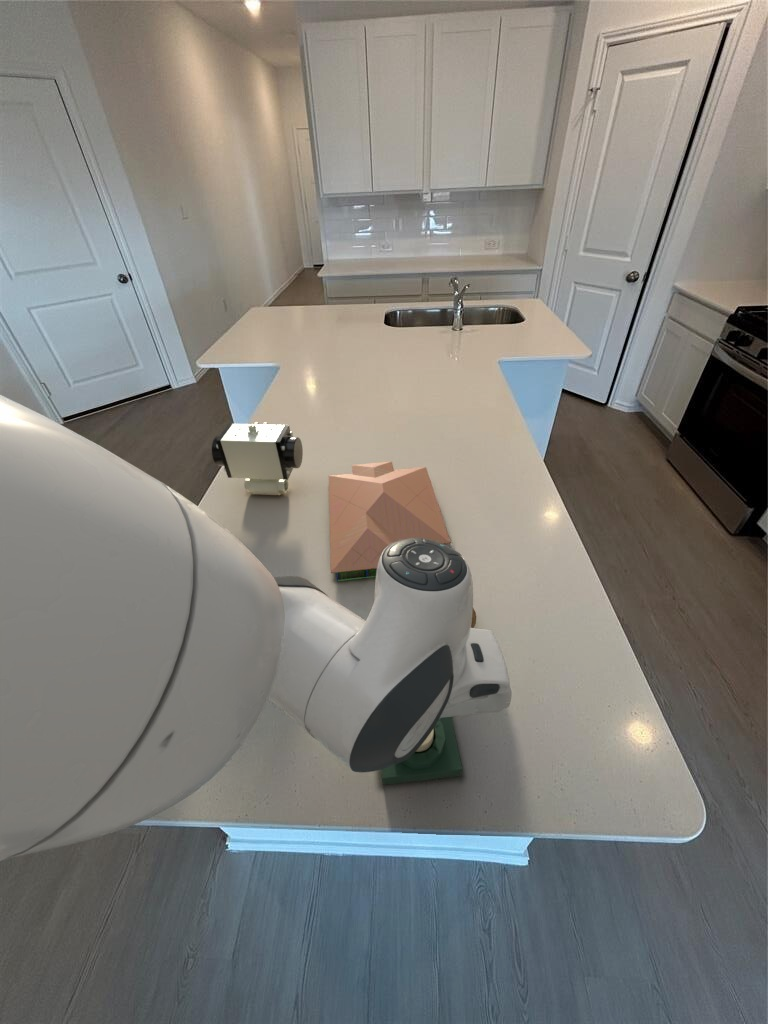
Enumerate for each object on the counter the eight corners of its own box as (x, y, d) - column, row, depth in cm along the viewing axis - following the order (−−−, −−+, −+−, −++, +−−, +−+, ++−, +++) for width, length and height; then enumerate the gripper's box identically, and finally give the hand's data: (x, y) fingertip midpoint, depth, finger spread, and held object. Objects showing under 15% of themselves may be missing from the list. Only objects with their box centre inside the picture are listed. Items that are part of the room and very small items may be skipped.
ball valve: (310, 481, 106) (299, 415, 94) (302, 503, 99) (288, 435, 88) (239, 479, 108) (219, 413, 96) (226, 500, 101) (203, 433, 90)
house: (423, 471, 107) (424, 442, 102) (454, 571, 82) (458, 540, 77) (329, 480, 106) (325, 451, 101) (332, 584, 81) (327, 553, 76)
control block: (447, 713, 62) (449, 700, 59) (460, 776, 56) (463, 763, 53) (377, 721, 61) (376, 707, 59) (382, 785, 55) (381, 773, 53)
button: (430, 718, 58) (430, 712, 57) (435, 750, 55) (436, 744, 54) (400, 721, 58) (400, 715, 57) (404, 753, 55) (404, 748, 54)
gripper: (319, 704, 43) (335, 761, 52) (526, 682, 44) (506, 741, 52) (320, 647, 47) (334, 708, 56) (506, 629, 48) (491, 691, 57)
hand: (418, 724), depth 54 cm, fingers closed
